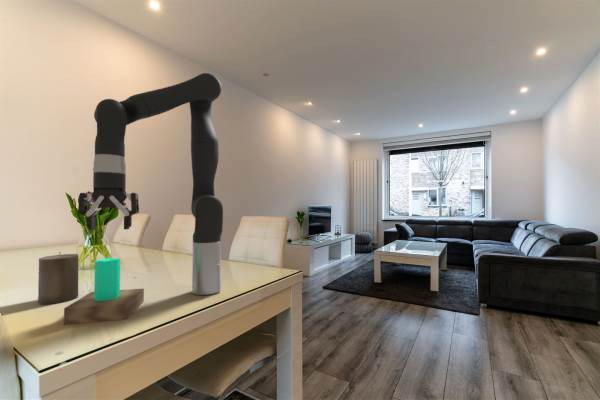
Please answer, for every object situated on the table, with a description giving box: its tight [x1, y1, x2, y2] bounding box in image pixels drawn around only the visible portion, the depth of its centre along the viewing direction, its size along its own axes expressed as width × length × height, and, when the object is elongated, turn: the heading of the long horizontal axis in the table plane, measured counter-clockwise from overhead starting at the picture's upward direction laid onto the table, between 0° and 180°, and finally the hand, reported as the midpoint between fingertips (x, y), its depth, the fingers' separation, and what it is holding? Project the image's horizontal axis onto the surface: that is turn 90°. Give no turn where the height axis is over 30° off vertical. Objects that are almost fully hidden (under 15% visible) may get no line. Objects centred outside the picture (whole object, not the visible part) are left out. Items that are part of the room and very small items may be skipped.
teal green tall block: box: [93, 257, 121, 301], centre depth 77 cm, size 6×6×12 cm
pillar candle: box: [37, 252, 79, 305], centre depth 88 cm, size 10×10×15 cm
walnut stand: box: [63, 288, 145, 325], centre depth 77 cm, size 14×14×4 cm
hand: (109, 229), depth 78 cm, fingers open, 8 cm apart
